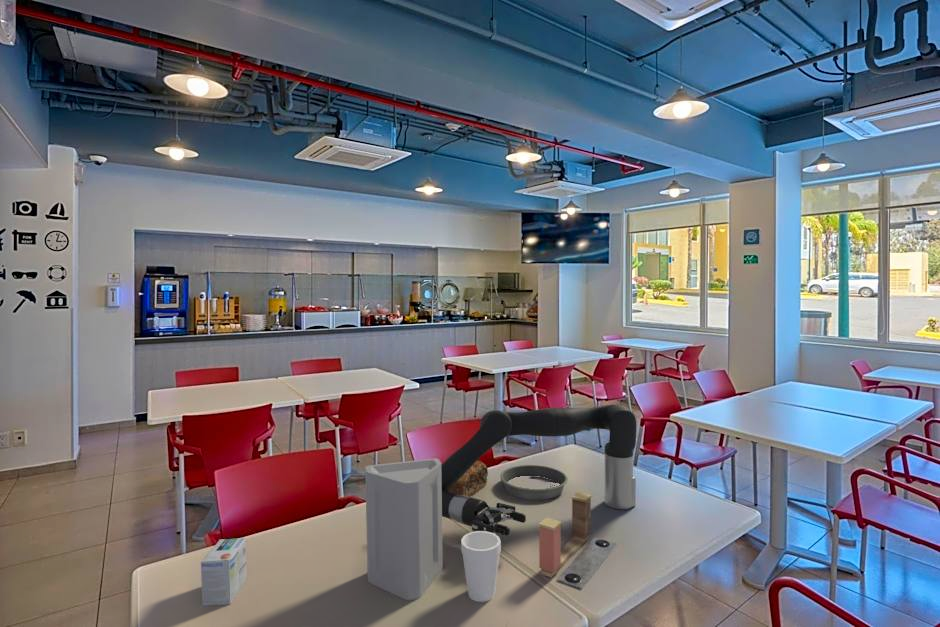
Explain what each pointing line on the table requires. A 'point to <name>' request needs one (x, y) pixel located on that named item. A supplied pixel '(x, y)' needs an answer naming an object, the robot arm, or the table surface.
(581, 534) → the rail
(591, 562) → the flange plate
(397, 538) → the triangular storage bin
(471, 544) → the foam cup
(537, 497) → the cake pan
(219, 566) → the light bulb box
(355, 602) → the table surface
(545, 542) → the sliding leg
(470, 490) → the bread
